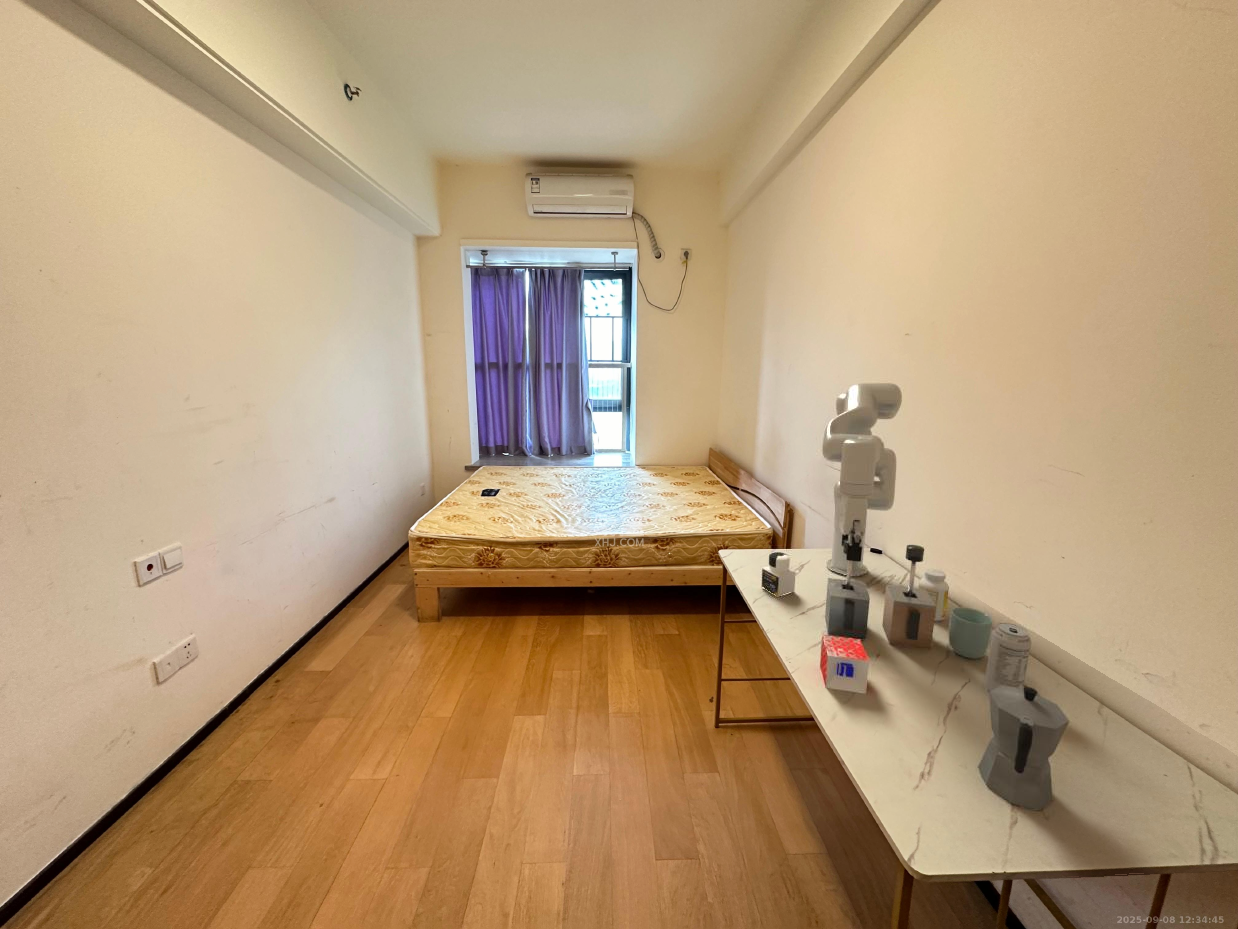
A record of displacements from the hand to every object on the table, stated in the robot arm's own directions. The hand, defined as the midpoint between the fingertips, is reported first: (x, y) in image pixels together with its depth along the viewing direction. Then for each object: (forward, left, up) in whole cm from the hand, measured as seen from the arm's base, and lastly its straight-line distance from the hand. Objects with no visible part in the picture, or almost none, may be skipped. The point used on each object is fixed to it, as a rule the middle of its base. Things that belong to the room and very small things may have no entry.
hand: (850, 553), depth 115 cm
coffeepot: (+43, +20, -22) cm, 52 cm away
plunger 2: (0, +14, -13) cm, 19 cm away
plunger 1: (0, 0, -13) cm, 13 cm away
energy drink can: (+17, +28, -22) cm, 39 cm away
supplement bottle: (-14, +23, -22) cm, 35 cm away
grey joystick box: (0, 0, -21) cm, 21 cm away
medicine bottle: (-17, -17, -22) cm, 32 cm away
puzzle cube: (+22, -3, -22) cm, 31 cm away
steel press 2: (0, +14, -21) cm, 26 cm away
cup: (+3, +26, -22) cm, 34 cm away
